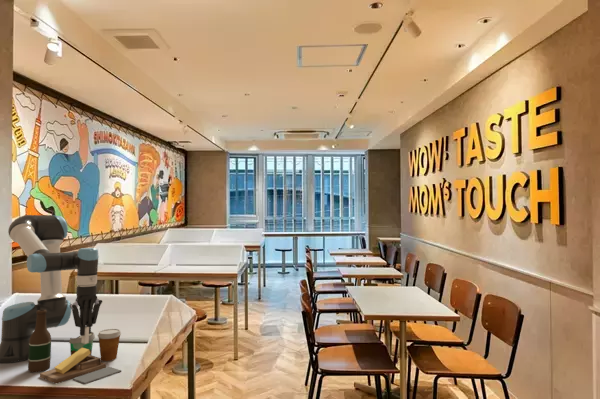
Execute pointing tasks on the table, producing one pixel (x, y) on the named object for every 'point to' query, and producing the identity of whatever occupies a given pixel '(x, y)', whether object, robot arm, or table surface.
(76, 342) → the food container
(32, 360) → the beer bottle
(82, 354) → the mustard bar
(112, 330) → the disposable coffee cup
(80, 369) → the walnut jig
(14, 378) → the table surface
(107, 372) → the charcoal mat
